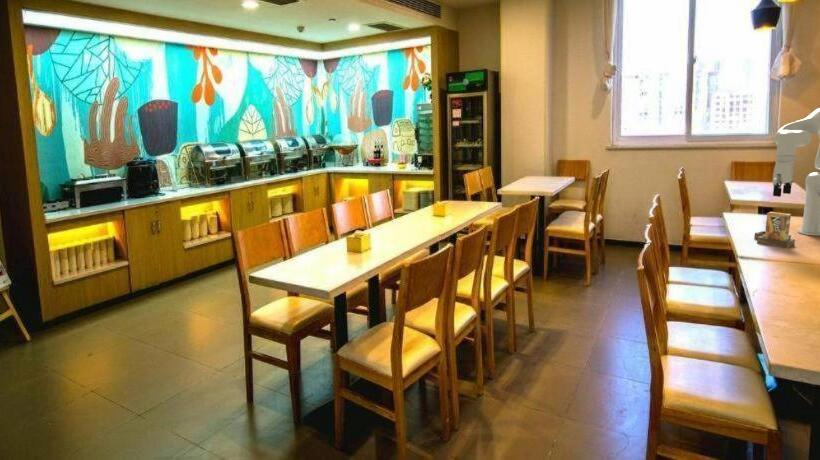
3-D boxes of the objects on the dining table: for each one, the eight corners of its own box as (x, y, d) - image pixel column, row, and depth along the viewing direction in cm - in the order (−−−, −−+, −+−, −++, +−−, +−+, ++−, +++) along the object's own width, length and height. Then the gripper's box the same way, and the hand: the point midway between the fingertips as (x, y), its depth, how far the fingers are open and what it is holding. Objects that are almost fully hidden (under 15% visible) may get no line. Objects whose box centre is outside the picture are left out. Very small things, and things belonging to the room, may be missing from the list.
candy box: (787, 245, 264) (791, 213, 261) (783, 246, 262) (787, 215, 259) (767, 242, 271) (771, 211, 268) (763, 243, 269) (767, 212, 266)
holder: (762, 236, 282) (762, 230, 282) (801, 243, 268) (802, 237, 267) (746, 241, 274) (746, 235, 273) (786, 248, 259) (787, 242, 258)
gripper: (785, 156, 266) (781, 191, 269) (767, 160, 256) (764, 196, 260) (803, 157, 259) (799, 193, 263) (785, 161, 250) (781, 198, 254)
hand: (781, 194), depth 262 cm, fingers open, 9 cm apart
